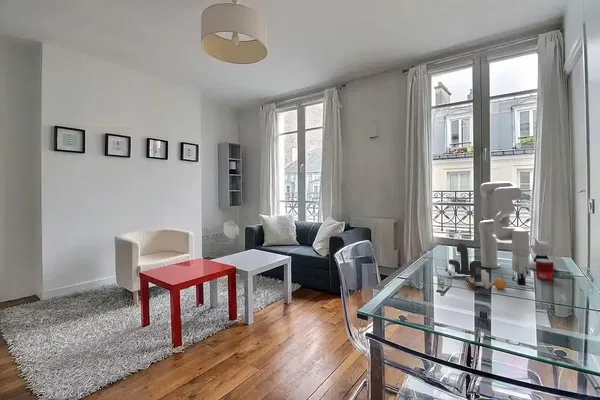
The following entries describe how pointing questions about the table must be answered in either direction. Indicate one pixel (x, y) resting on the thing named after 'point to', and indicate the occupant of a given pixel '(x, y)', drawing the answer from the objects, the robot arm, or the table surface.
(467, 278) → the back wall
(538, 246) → the decorative figurine
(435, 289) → the table surface
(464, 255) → the faucet
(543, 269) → the canned food
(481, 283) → the front pin
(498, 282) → the ball
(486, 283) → the pin
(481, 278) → the pin
